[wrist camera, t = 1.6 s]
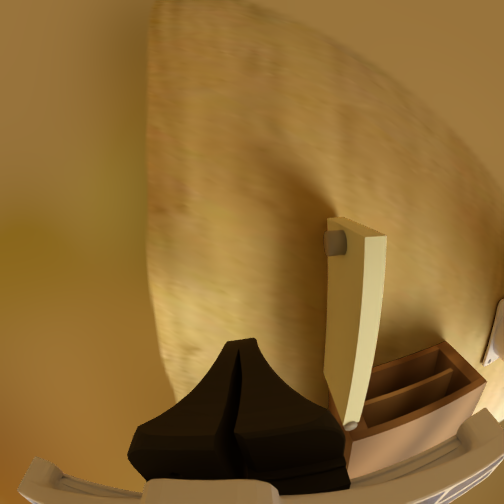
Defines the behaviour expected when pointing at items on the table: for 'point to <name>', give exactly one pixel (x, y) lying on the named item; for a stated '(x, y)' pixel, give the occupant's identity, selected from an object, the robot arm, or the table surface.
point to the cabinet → (410, 408)
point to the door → (352, 312)
